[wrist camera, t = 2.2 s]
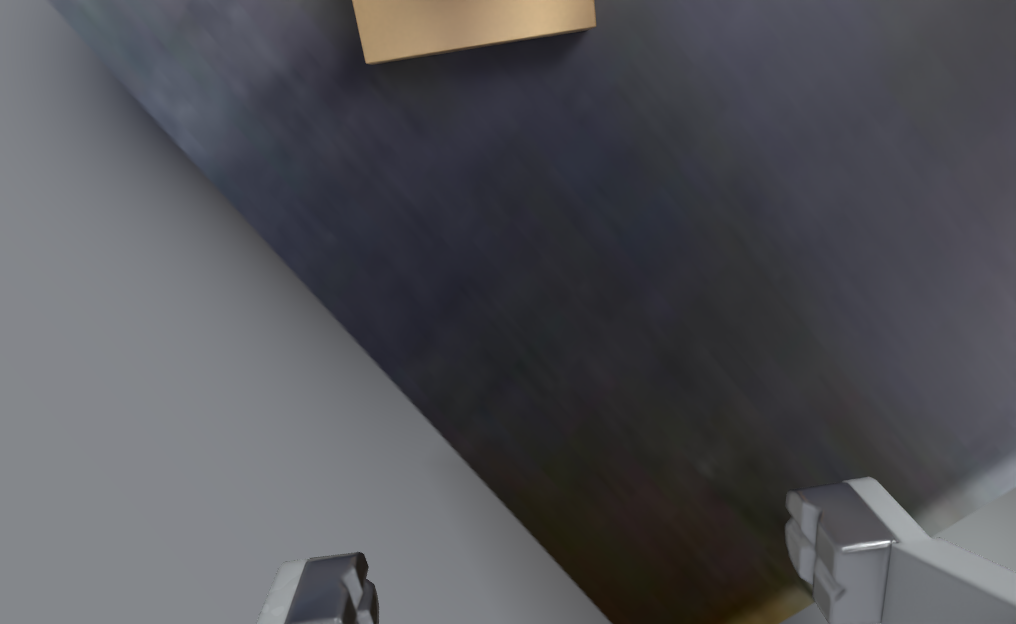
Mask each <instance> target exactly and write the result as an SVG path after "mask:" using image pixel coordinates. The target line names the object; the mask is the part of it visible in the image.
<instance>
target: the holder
mask: <svg viewBox="0 0 1016 624" xmlns="http://www.w3.org/2000/svg"><path fill="white" fill-rule="evenodd" d="M352 2H353V7H354V12H355V16H356V21H357V25H358V30H359V35H360V39H361V44H362V48H363V53H364V57H365V62H366V64H373V65H374V64H380V63H387V62H393V61H399V60H405V59H411V58H418V57H424V56H430V55H436V54H443V53H449V52H455V51H461V50H467V49H474V48H480V47H486V46H492V45H499V44H505V43H511V42H517V41H523V40H530V39H536V38H542V37H548V36H555V35H561V34H567V33H573V32H579V31H586V30H590V29H592V28H594V27H596V17H595V5H594V0H352Z"/></svg>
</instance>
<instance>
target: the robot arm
mask: <svg viewBox="0 0 1016 624" xmlns="http://www.w3.org/2000/svg"><path fill="white" fill-rule="evenodd" d="M786 508H787V509H788V511H789V512H790V514H791V515H792V517H791V518H790V520H789V521H788V522H787V523H786V525H785V541H786V546H787V550H788V554H789V557H790V559H791V561H792V564H793V566H794V568H795V569H796V571H797V573H798V575H799V576H800V577H801V578H802V579H804V580H806V581H807V582H809V583H811V584H812V585H813V593H812V598H813V599H814V601H815V602H816V604H817V606H818V607H819V609H820V610H821V612H822V614H823V615H824V617H825V619H826V620H827V622H828V623H829V624H880V623H882V624H1016V572H1015V571H1013V570H1010V569H1008V568H1006V567H1004V566H1002V565H999V564H997V563H995V562H993V561H991V560H988V559H986V558H984V557H982V556H980V555H977V554H975V553H973V552H971V551H968V550H966V549H964V548H962V547H960V546H957V545H955V544H953V543H951V542H949V541H947V540H944V539H942V538H932V539H931V538H930V536H929V535H928V534H927V533H926V532H925V531H924V530H923V529H922V528H921V527H920V526H919V525H918V524H917V523H916V522H915V521H914V520H913V519H912V517H911V516H910V515H909V514H908V513H907V512H906V511H905V510H904V509H903V508H902V507H901V506H900V505H899V504H898V503H897V502H896V501H895V499H894V498H893V497H892V496H891V495H890V494H889V493H888V492H887V491H886V490H885V489H884V488H883V487H882V486H881V485H880V484H879V483H878V482H877V481H876V480H875V479H873V478H871V477H865V478H859V479H853V480H847V481H842V482H836V483H830V484H823V485H817V486H810V487H803V488H797V489H790V490H789V491H788V493H787V495H786ZM367 571H368V564H367V561H366V558H365V556H364V554H363V553H360V552H356V553H348V554H340V555H331V556H323V557H315V558H310V559H304V560H294V561H286V562H284V563H283V564H282V565H281V566H280V567H279V568H278V571H277V573H276V576H275V578H274V581H273V583H272V585H271V588H270V590H269V593H268V595H267V598H266V600H265V603H264V605H263V608H262V610H261V612H260V615H259V618H258V620H257V622H256V624H379V603H378V597H377V592H376V589H375V585H374V584H373V583H372V582H370V581H369V580H368V579H366V576H367Z"/></svg>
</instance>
